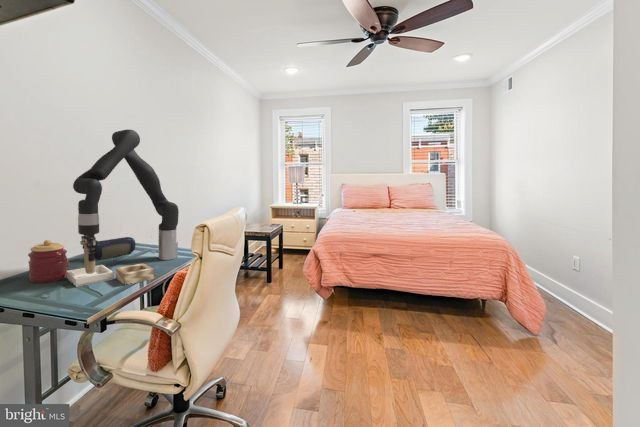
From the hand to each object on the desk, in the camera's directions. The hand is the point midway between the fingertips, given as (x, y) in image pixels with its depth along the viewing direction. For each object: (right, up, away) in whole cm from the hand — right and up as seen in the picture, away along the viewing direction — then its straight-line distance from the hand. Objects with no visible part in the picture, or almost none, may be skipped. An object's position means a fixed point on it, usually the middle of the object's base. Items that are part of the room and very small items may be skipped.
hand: (90, 259), depth 137 cm
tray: (-1, -9, +1) cm, 9 cm away
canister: (-17, -8, -1) cm, 19 cm away
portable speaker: (-14, -4, +35) cm, 38 cm away
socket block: (+17, -10, +5) cm, 21 cm away
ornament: (-24, -6, +11) cm, 27 cm away
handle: (-1, -6, +1) cm, 6 cm away
